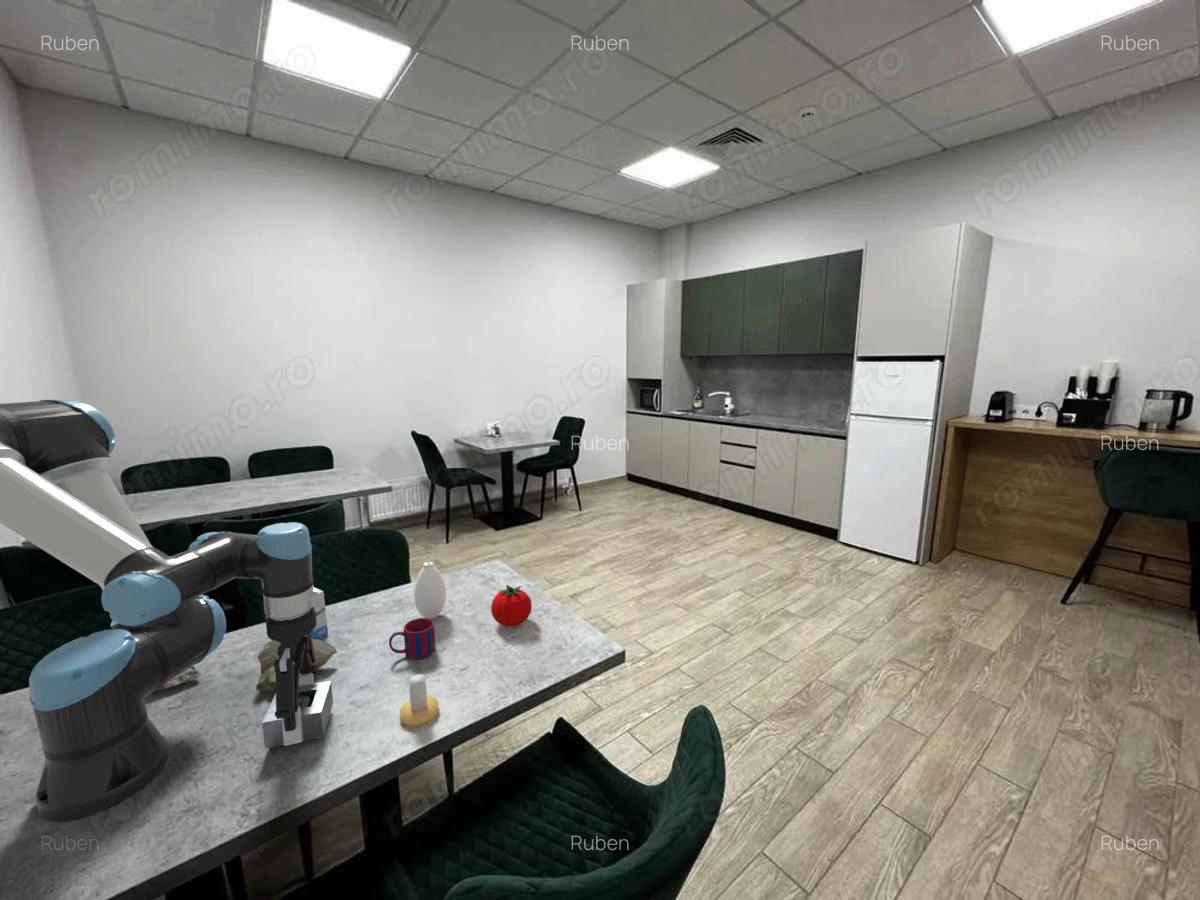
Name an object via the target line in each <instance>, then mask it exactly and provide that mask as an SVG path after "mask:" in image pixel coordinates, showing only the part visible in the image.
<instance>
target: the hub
mask: <svg viewBox="0 0 1200 900" xmlns="http://www.w3.org/2000/svg"><path fill="white" fill-rule="evenodd" d="M408 686H409V687H408V689H409V690H408V691H409V699H408V700H407V701H406V702H404V703H403V704H402V705H401V707H400V709H399V720H400V723H401V724H402V725H404V727H407V728H418V727H423V726H425V725H427V724H430V723H432V721H434V720H435V719H436V718H437V716H438V715H439V710H440V708H439V700H438V699H437V698H436V697H435V696H433V695H428V693H427V682H426V676H425V674H415V675H413V676H411V677H410V678H409V679H408Z"/></svg>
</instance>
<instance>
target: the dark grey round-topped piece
mask: <svg viewBox="0 0 1200 900" xmlns="http://www.w3.org/2000/svg"><path fill="white" fill-rule="evenodd" d="M298 707H300V709H301V708H307V707H311V705H310V697H309V696H302V697H299V698H298Z"/></svg>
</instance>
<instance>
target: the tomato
mask: <svg viewBox="0 0 1200 900" xmlns="http://www.w3.org/2000/svg"><path fill="white" fill-rule="evenodd" d="M521 587H522V585H520V586H517V587H512V586H510V585H509V584H506V589H505V588H504V589H502V590H501V589H500V590H499V589H498V591H499V592H497V594H496V595H495V596H494V598H493V599H492V601H491V607H490V609H491V615H492V617H493V619H494V620H495V622H497V623H498V624H499V625H501V626H504V627H508V628H512V627H513V628H514V627H516V626H519V625H522V624H523V623H524V622H525V621H527V619H529V616H530V615H531V612H532V601H531V597H530V595H528V593H527V592H525V591H524V590H522V589H520V588H521Z"/></svg>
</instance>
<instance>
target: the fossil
mask: <svg viewBox="0 0 1200 900" xmlns="http://www.w3.org/2000/svg"><path fill="white" fill-rule="evenodd" d="M312 643H313V649H314V655H315V663H312V664H313V665H317V666H318V668H317V669H319V668H321V667H322V666H325V664H327V663H328V661H329V660H331V658H332V657H333V655H335V654H337V653H338V651H337V649H336V648H335V647H334V646H333V645H332V644H330V643H329V642H327V641H325V640H319V639H312ZM279 646H281V643H280V642H278V641H274V640H269V641H267V643H265V644H264V646H263V647H262V648H263V649H261V650H260V651H259V653H258V655H257V659H258V661H259V663H260V676H259V679H258V681H257V684H256V686H255V687H256V688H255V690H256V691H261V692H273V691H276V674H275V667H274V662H275V660H279V656H278V647H279ZM294 665H295V664H294ZM299 675H301V673H300V674H299Z"/></svg>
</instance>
